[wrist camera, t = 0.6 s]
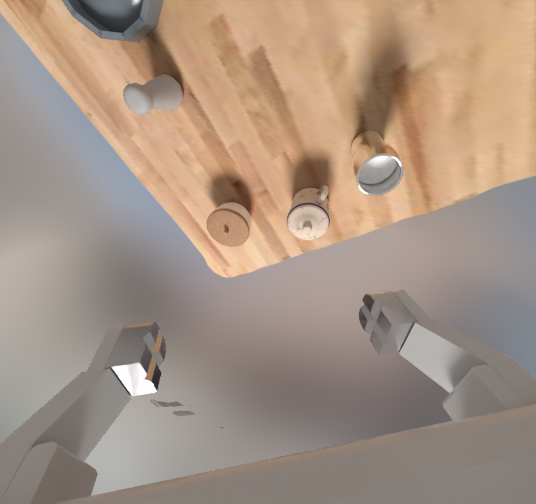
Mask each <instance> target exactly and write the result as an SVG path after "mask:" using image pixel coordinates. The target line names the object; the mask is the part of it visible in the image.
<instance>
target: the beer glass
mask: <svg viewBox="0 0 536 504" xmlns="http://www.w3.org/2000/svg"><path fill="white" fill-rule="evenodd" d="M351 155H352V157H353V165H352V169H353V175H354V178H355V180H356V182H357V185H358V187H359V189H360V190H361V191H362V192H364V193H366V194H368V195H372V196H378V195H383V194H386V193H388V192H390V191H391V190H393V189H394V188H395V187H396V186H397V185H398V184H399V182H400V181H401V179H402V176H403V164H402V162H401V160H400V158H399V156H398V154H397V152H396V151H395V150H394V148H393V147H392V146H390V145H389V144H387V143H386V142H383V138H382V136H381V135H380V134H379V133H377V132H375V131H365V132H362V133H361V134H359V135H358V136H357V137H356V138H355V139H354V140H353V142H352V145H351Z"/></svg>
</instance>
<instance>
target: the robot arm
mask: <svg viewBox="0 0 536 504" xmlns="http://www.w3.org/2000/svg"><path fill="white" fill-rule="evenodd" d="M363 302H364V305H363V306H362V307H361V308H360V311H359V320H360V323H361V325H362V328H363V329H364V331H366V332H367V333H369V334H370V335H371V337H370V341H371V343H372V344H373V346H374V348H375V350H376V351H377V353H378V355H384V354H392V353H399V352H400V353H399V354H400V355H402V356H403V357H404V358H406V359H407V360H408V361H410V362H411V363H412V364H413V365H415V366H416V367H417V368H419V369H420V370H421V371H422V372H424V373H425V374H426V375H427V376H429V377H430V378H431V379H433V380H434V381H435V382H436V383H438V384H439V385H440V386H442V387H443V388H444V389H445V390H447V391H448V392H449V393H450V394H449V395H448V396H447V397H446V399H445V400H444V401H443V407H444V408H445V410H446V411H447V413H448V414H449V416H450V417H451V418H452V420H453V421H450V422H445V423H440V424H436V425H431V426H426V427H421V428H416V429H411V430H407V431H402V432H397V433H392V434H387V435H383V436H378V437H373V438H368V439H363V440H359V441H354V442H349V443H344V444H339V445H334V446H330V447H325V448H321V449H315V450H311V451H305V452H301V453H296V454H291V455H286V456H281V457H277V458H272V459H267V460H262V461H257V462H252V463H248V464H243V465H238V466H233V467H228V468H224V469H219V470H214V471H209V472H204V473H199V474H195V475H190V476H185V477H180V478H175V479H171V480H166V481H161V482H156V483H151V484H147V485H142V486H137V487H133V488H127V489H122V490H118V491H113V492H108V493H103V494H98V495H93V496H91V493H92V490H93V487H94V484H95V481H96V477H97V472H96V470H95V469H94V468H93V467H91V466H90V465H88V464H87V463H85V462H84V461H85V459H86V458H87V457H88V455H89V454H90V453H91V451H92V450H93V449H94V447H95V446H96V445H97V443H98V442H99V441H100V439H101V438H102V437H103V435H104V434H105V433H106V431H107V430H108V429H109V427H110V426H111V425H112V423H113V422H114V421H115V419H116V418H117V417H118V415H119V414H120V413H121V411H122V410H123V409H124V407H125V406H126V405H127V403H128V402H129V401H130V400H131V397H132V396H137V395H142V394H147V393H153V392H157V389H158V385H159V381H160V377H161V371H160V369H159V366H160V365H161V364H162V363H163V362H164V358H165V354H166V344H165V339H164V337H163V335H161V334H159V333H158V332H159V329H160V328H159V326H158V324H157V322H150V323H141V324H131V325H124V326H115V327H111V328H109V329H108V330H107V332H106V334H105V336H104V338H103V340H102V342H101V344H100V346H99V348H98V350H97V352H96V354H95V356H94V358H93V360H92V362H91V364H90V366H89V368H88V370H87V371H86V372H82V373H80V374H79V375H78V376H77V377H76V378H75V379H74V380H72V381H71V382H70V383H69V384H68V385H67V386H66V387H64V388H63V390H61V391H60V392H59V393H58V394H56V395H55V396H54V397H53V398H52V399H51V400H50V401H48V403H46V404H45V405H44V406H43V407H42V408H40V409H39V410H38V411H37V412H36V413H35V414H34V415H32V416H31V417H30V418H29V419H28V420H27V421H26V422H25V423H23V424H22V425H21V426H20V427H19V428H18V429H17V430H15V431H14V432H13V433H12V434H11V435H10V436H9V437H7V438H6V439H5V440H4V441H3V442H2V443H1V444H0V504H536V380H535V379H534V378H533V377H532V376H531V375H530V374H529V373H528V372H527V371H526V370H524V369H523V368H522V367H521V366H520V365H519V364H518V363H517V362H516V361H515V360H514V359H513V358H511V357H508V356H507V355H504V354H503V353H501V352H499V351H497V350H495V349H493V348H491V347H489V346H487V345H485V344H483V343H481V342H479V341H477V340H475V339H473V338H471V337H469V336H467V335H465V334H463V333H461V332H459V331H457V330H455V329H453V328H451V327H449V326H447V325H445V324H443V323H441V322H439V321H437V320H435V319H434V320H431V319H430V318H429V316H428V315H427V314H426V313H425V312H424V311H423V310H422V309H421V308H420V307H419V306H418V304H416V302H415V301H414V300H413V299H412V298H411V297H410V296H409V295H408V294H407V293H406V292H405V291H404V290H402V289H399V290H392V291H383V292H377V293H370V294H366V295H365V296H364V297H363Z"/></svg>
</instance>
